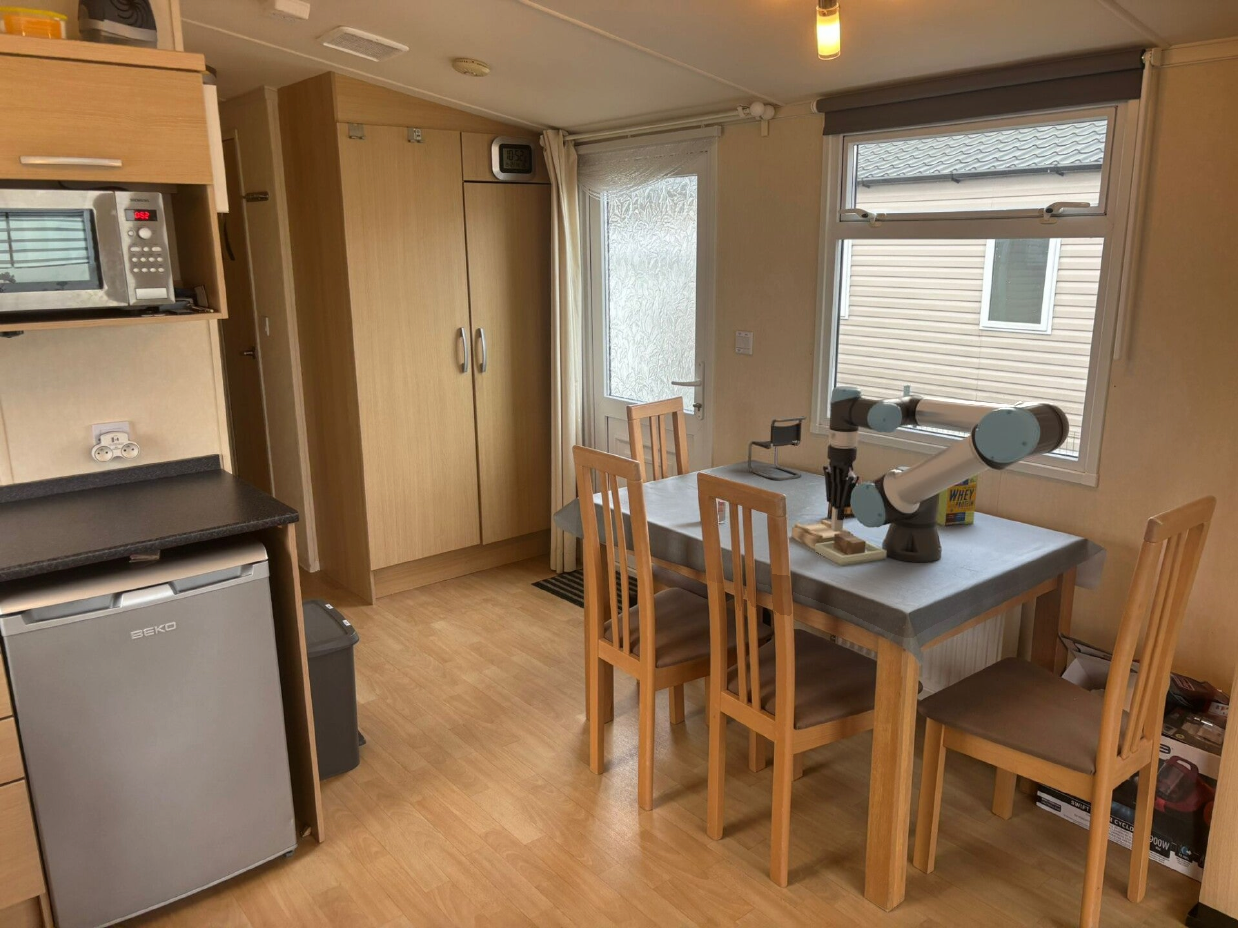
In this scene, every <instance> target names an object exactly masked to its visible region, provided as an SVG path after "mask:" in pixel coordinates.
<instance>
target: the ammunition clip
mask: <svg viewBox="0 0 1238 928" xmlns="http://www.w3.org/2000/svg"><path fill="white" fill-rule="evenodd" d="M862 482H863V481H862V477H859V480H858V481H857V483H856V486H857V485H858V484H860V483H862ZM831 510H832V506H831V504H830V502H828V507H827V515H826V516H827V518H828V519H830V520H832V517H831V512H832V511H831ZM848 518H856V517H855V516H854V514H853V511H852V508H851V507H849V508H845V513H844V519H848Z"/></svg>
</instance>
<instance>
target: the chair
mask: <svg viewBox="0 0 1238 928" xmlns="http://www.w3.org/2000/svg"><path fill="white" fill-rule="evenodd" d="M806 419H807V417H806V415H802V416H798V417H797V416H796V417H787V418H773V420H772V421H771V425H770V440H767V441H766V440H765V441H750V443H749V444H748V452H747V454H748V455H747V457H748V459H747V467H748V470H749V472H751V473H753V474H755V475H758V476H761V477H763V478H766V479H769V480H772V481H785V480H786V481H787V480H792V479H793V480H794V479H799V478H801V477H802V474H801V473H799V472H797V471H794V470H791V469H789V468H786V467H783V466H780V465H779V463H778V456H779V455H778V454H779V447H784V446H790V445H791V446H793V447H797V446H799V445H800V444H801V440H802V421H804V420H806ZM796 421H798V422H797V423H795V424H792V425H786V426H783V425H782V426H780V425H775V424H776V423H784V422H787V423H788V422H796ZM795 441H796V442H795ZM753 446H756V447H760V448H763V449H766V450H771V449H772V448H773V447H774V465H775V468H777V470H778V469H779V470H781V471H784V472H785V473H788V474H792V475H789V476H780V477H779V476H777V477H776V476H771V475H769V474H766V473H763V472H761V471H758V470H755V469H753V468H752V449H753V448H752V447H753ZM794 474H795V475H794Z"/></svg>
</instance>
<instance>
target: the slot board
mask: <svg viewBox="0 0 1238 928" xmlns="http://www.w3.org/2000/svg"><path fill="white" fill-rule="evenodd" d="M846 532H847V533H849V534H852V535H854V534H853V533H852V532H851V531H849V530H847V529H845V528H843V530H842V531H836V532H834V531H832V530H831V522H830V521H828V520H825V519H824V520H823V519H822V520H821V522H820V523H819V522H818V523H813V524H804V525H802V524H800V523H795V524H794V526H791V535H790V537H791V538H792V539H794V540H796V541H798V542H800V543H802V544H804V545H805V546H808V547H809V548H811V549H813V550H815V544H817V543H824V542H831V541H834V534H838V533H846Z"/></svg>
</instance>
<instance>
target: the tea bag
mask: <svg viewBox="0 0 1238 928" xmlns="http://www.w3.org/2000/svg"><path fill="white" fill-rule="evenodd" d="M718 515H719V522H721V521H724V520H725V521H726V501H725V502H720V501H718Z"/></svg>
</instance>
